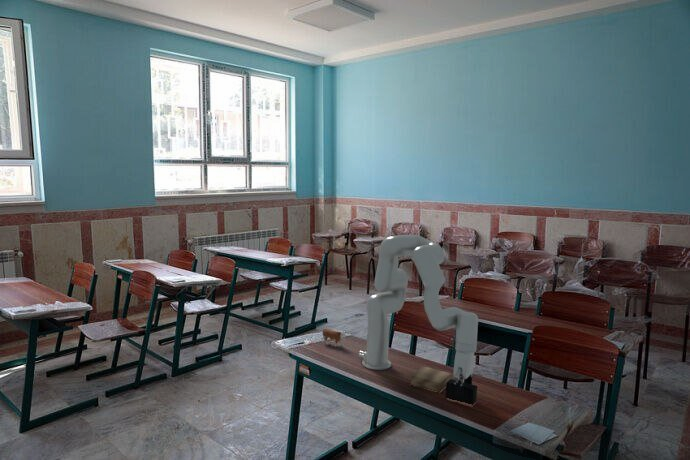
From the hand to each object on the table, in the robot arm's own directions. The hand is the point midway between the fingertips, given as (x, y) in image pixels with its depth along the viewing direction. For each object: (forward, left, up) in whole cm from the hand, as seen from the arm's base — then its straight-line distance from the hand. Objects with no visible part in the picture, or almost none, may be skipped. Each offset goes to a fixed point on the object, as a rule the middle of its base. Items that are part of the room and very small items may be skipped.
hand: (463, 390), depth 182 cm
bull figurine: (-70, +20, -4) cm, 73 cm away
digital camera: (0, 0, -4) cm, 4 cm away
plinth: (-15, +7, -4) cm, 17 cm away
